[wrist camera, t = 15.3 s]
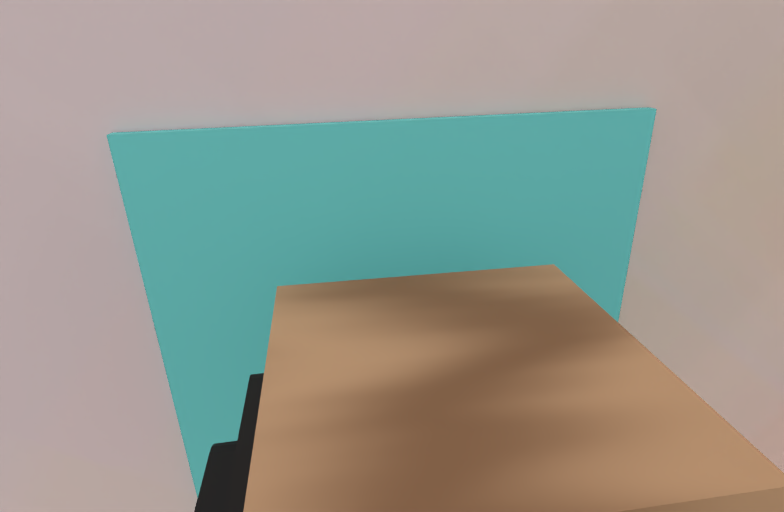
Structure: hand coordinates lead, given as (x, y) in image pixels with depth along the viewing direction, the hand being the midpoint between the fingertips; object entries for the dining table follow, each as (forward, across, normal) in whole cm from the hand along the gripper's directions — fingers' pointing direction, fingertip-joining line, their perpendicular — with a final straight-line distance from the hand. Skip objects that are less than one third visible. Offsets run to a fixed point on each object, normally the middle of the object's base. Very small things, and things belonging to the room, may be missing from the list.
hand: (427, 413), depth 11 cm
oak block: (+1, 0, 0) cm, 1 cm away
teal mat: (+3, 0, 0) cm, 3 cm away
